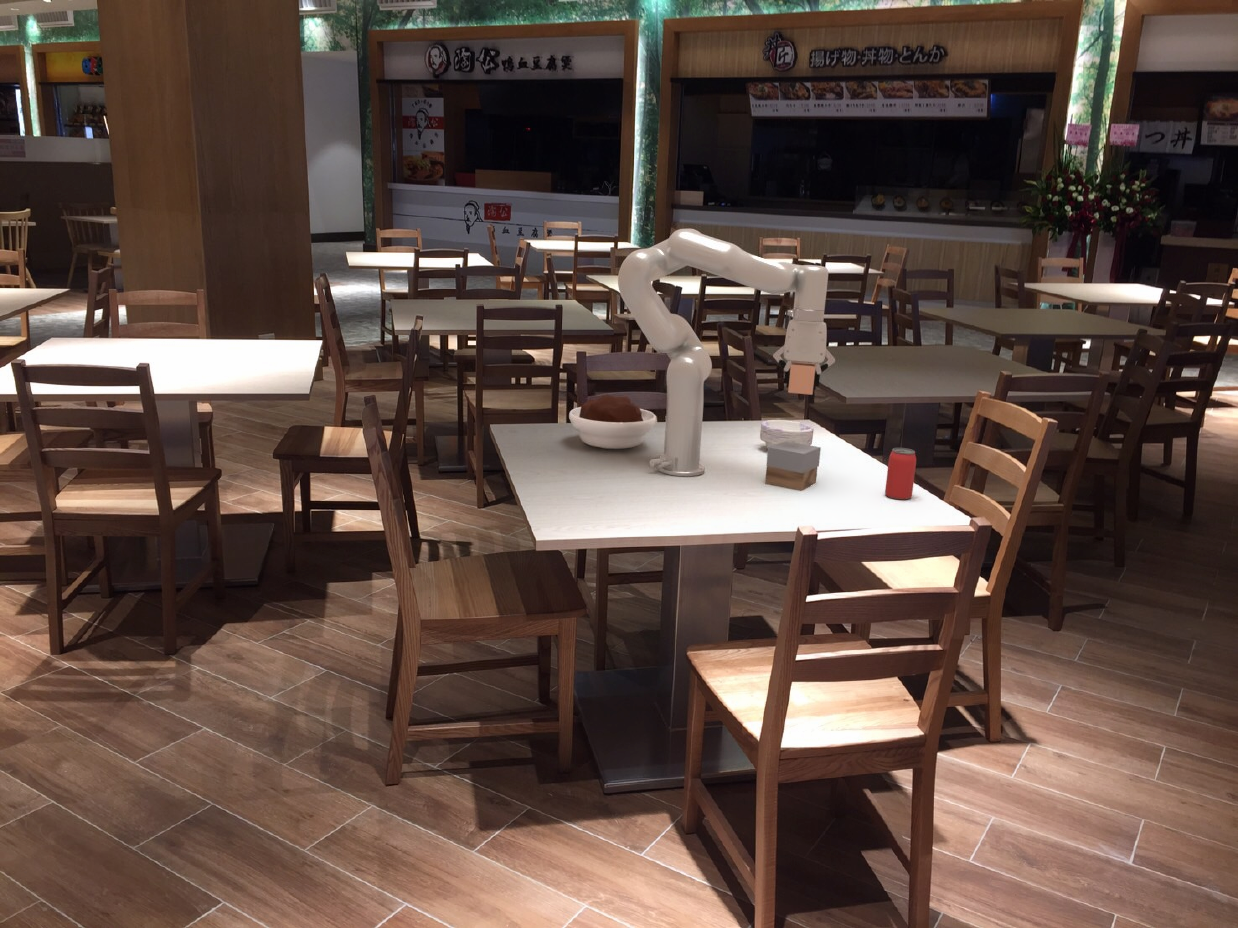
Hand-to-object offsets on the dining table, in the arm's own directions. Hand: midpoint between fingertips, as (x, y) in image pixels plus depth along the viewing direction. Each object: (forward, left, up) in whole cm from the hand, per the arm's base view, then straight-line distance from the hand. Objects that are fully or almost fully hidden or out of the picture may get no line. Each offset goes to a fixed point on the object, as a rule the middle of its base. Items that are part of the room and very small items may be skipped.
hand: (801, 387), depth 258 cm
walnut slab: (0, 0, -26) cm, 26 cm away
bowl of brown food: (-16, +55, -26) cm, 63 cm away
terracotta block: (0, 0, -1) cm, 1 cm away
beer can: (+15, -22, -26) cm, 37 cm away
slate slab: (0, 0, -21) cm, 21 cm away
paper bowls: (+26, +26, -26) cm, 45 cm away
